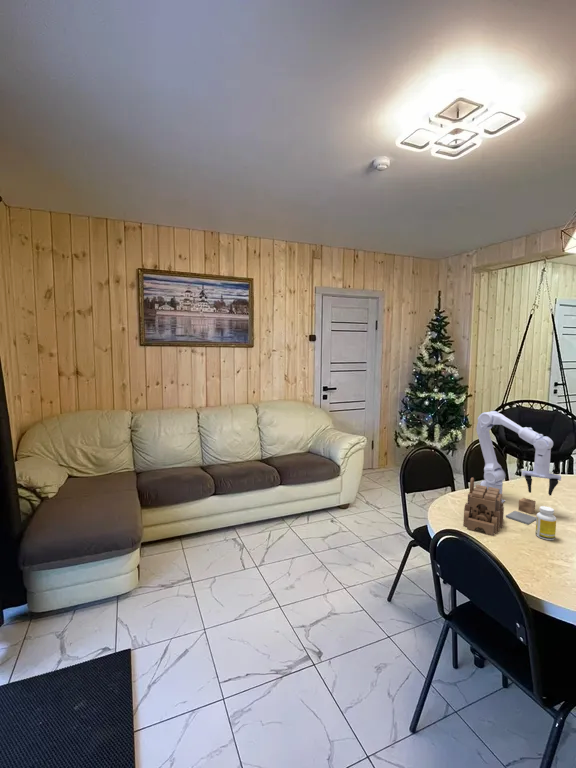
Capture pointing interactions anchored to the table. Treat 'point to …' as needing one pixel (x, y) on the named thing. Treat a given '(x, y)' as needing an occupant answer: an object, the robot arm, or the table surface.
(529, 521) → the slate coaster
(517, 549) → the table surface
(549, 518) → the pill bottle
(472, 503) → the wooden puzzle
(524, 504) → the walnut cube
